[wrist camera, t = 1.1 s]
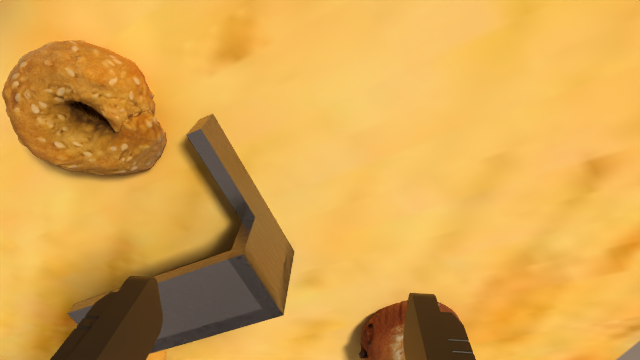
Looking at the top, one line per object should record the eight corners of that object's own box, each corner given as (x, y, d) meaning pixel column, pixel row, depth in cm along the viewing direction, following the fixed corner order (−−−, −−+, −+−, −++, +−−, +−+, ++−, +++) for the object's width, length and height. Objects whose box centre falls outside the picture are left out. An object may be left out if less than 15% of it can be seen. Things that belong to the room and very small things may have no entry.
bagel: (124, 191, 36) (94, 222, 32) (9, 94, 32) (-41, 114, 28) (201, 120, 33) (179, 144, 28) (82, 4, 29) (38, 11, 25)
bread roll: (439, 335, 47) (490, 391, 40) (359, 377, 45) (399, 445, 38) (432, 267, 43) (488, 319, 36) (342, 310, 40) (384, 374, 33)
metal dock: (55, 182, 36) (-10, 235, 29) (212, 113, 32) (178, 156, 25) (152, 298, 42) (116, 363, 35) (294, 251, 38) (283, 315, 31)
